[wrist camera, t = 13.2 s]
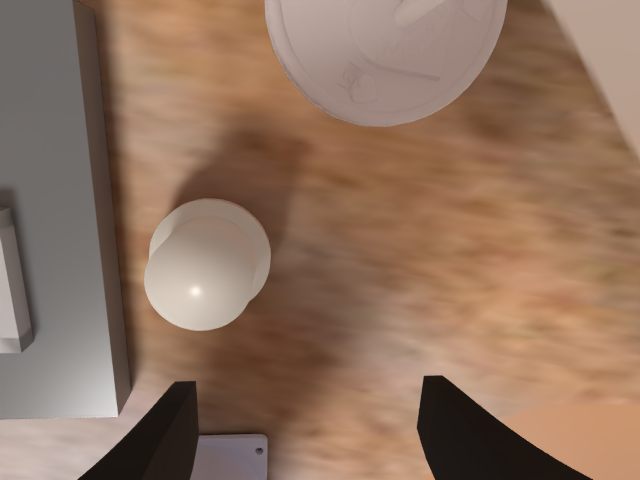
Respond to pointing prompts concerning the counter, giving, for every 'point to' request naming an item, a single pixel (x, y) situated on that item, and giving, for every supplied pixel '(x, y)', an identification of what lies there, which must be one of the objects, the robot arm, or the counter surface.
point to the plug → (206, 263)
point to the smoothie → (383, 53)
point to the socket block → (56, 221)
